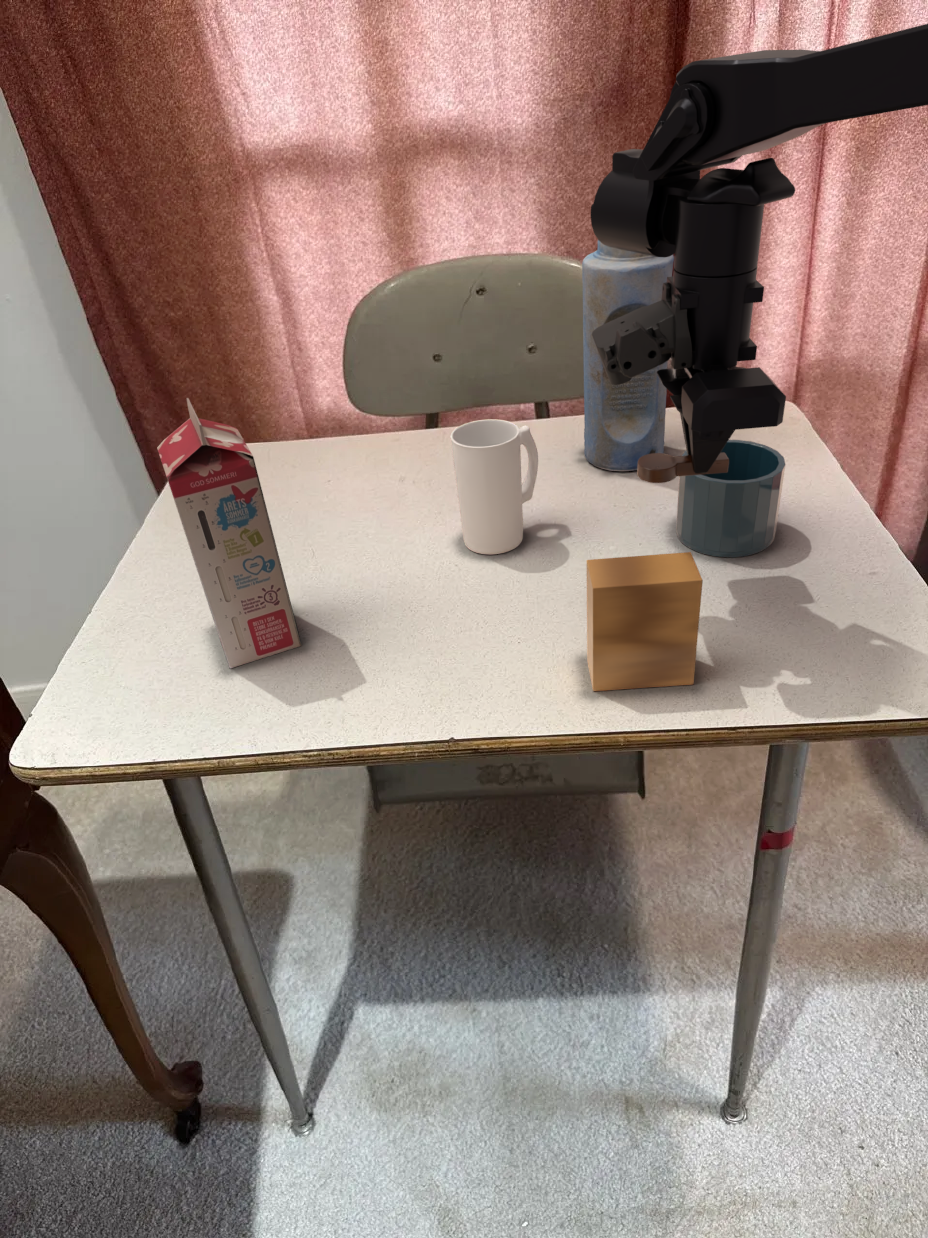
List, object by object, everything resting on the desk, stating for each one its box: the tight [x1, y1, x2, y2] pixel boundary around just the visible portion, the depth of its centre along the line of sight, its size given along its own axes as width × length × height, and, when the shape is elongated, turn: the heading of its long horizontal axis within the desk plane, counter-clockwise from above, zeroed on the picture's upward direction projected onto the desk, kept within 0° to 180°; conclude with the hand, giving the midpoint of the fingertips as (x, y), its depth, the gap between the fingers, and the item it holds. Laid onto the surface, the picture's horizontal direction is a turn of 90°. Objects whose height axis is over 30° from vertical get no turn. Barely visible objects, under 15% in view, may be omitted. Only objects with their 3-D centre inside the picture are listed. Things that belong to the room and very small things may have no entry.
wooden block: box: [586, 551, 703, 692], centre depth 66 cm, size 8×4×10 cm, turn 90°
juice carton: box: [156, 397, 303, 669], centre depth 71 cm, size 7×7×22 cm
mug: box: [449, 418, 539, 555], centre depth 85 cm, size 10×7×12 cm, turn 129°
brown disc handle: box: [636, 452, 729, 484], centre depth 68 cm, size 7×3×1 cm, turn 91°
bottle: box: [581, 239, 674, 472], centre depth 93 cm, size 10×10×30 cm
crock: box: [675, 439, 786, 558], centre depth 83 cm, size 10×10×8 cm
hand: (698, 467), depth 68 cm, fingers closed on brown disc handle, 1 cm apart
